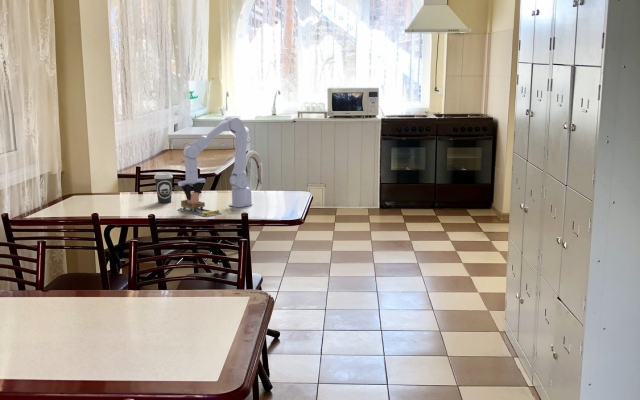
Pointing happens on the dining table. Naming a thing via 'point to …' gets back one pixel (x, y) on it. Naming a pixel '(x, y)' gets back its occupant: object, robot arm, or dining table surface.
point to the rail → (201, 212)
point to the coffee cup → (163, 186)
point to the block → (194, 198)
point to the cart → (192, 205)
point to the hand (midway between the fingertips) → (192, 199)
